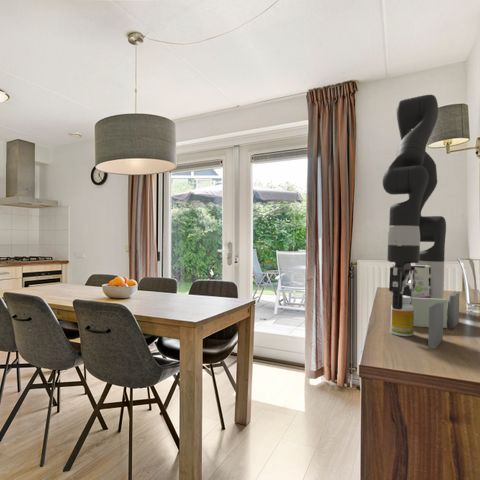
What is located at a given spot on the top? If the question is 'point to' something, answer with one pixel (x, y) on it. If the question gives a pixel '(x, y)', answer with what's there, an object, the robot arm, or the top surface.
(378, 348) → the top surface
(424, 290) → the candy bar box
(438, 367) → the top surface
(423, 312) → the door
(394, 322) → the supplement bottle
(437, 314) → the door frame
